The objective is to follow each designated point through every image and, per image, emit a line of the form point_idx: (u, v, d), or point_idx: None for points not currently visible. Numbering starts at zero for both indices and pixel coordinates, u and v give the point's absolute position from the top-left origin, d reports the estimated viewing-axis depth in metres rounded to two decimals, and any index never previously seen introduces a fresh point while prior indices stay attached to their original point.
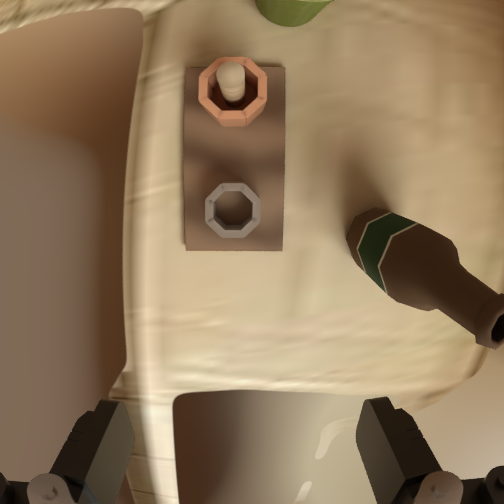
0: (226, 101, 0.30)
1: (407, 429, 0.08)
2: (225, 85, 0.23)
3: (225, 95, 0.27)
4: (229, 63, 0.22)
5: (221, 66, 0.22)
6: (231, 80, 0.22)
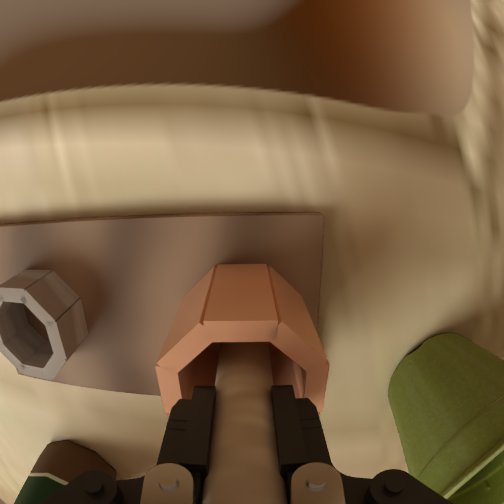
0: (222, 359, 0.12)
1: (306, 418, 0.09)
2: None
3: (214, 417, 0.09)
4: None
5: None
6: None
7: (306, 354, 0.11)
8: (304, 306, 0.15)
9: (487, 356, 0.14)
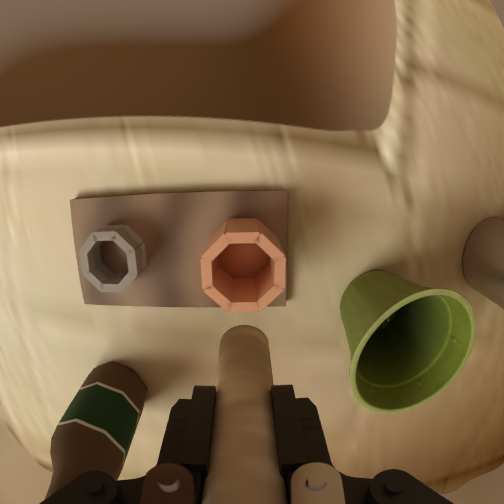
0: (221, 365, 0.12)
1: (307, 418, 0.09)
2: None
3: (213, 426, 0.09)
4: None
5: None
6: None
7: (273, 251, 0.24)
8: (277, 239, 0.28)
9: (399, 279, 0.27)
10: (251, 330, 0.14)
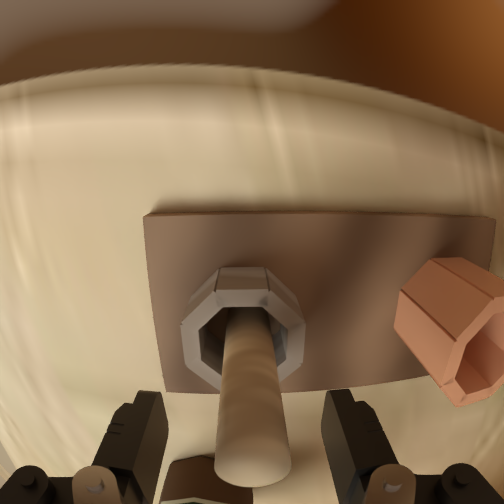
0: (229, 328, 0.15)
1: (367, 421, 0.08)
2: (217, 461, 0.08)
3: (225, 370, 0.12)
4: (284, 465, 0.08)
5: (276, 453, 0.08)
6: (233, 470, 0.08)
7: None
8: None
9: None
10: None
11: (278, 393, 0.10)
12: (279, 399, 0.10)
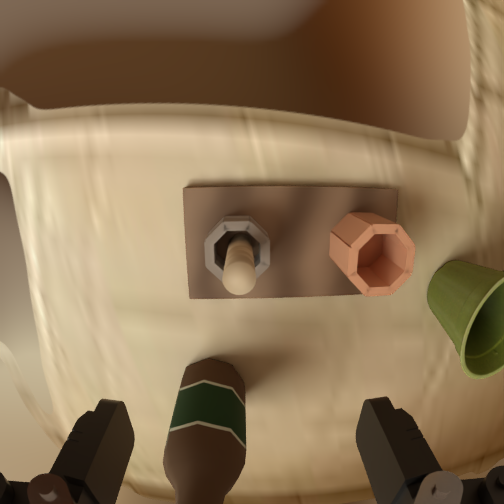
0: (230, 243, 0.28)
1: (407, 429, 0.08)
2: (223, 274, 0.21)
3: (227, 254, 0.25)
4: (252, 277, 0.21)
5: (248, 268, 0.21)
6: (230, 280, 0.21)
7: (407, 240, 0.25)
8: None
9: (480, 266, 0.29)
10: (243, 234, 0.30)
11: (252, 259, 0.24)
12: (252, 260, 0.24)
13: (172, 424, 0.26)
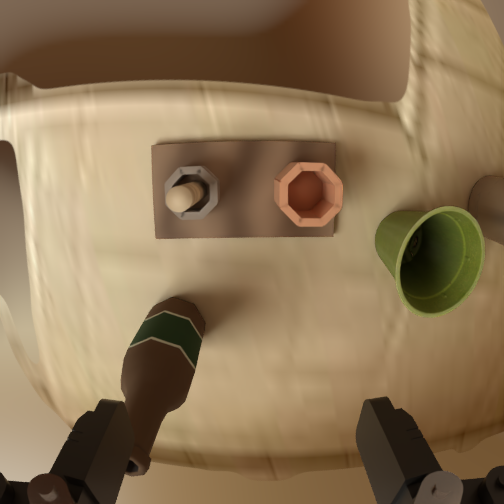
0: None
1: (407, 429, 0.08)
2: (167, 195, 0.26)
3: None
4: (189, 197, 0.26)
5: (185, 190, 0.26)
6: (172, 200, 0.26)
7: (334, 177, 0.30)
8: None
9: None
10: (198, 181, 0.35)
11: (194, 189, 0.29)
12: (194, 190, 0.29)
13: (131, 343, 0.31)
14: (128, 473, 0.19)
